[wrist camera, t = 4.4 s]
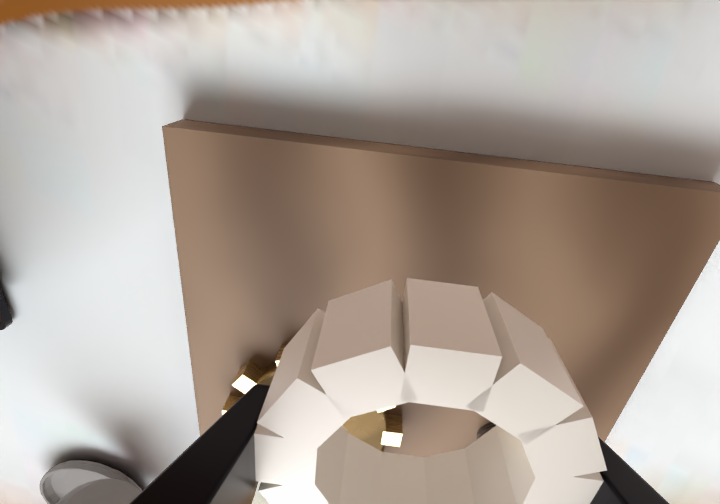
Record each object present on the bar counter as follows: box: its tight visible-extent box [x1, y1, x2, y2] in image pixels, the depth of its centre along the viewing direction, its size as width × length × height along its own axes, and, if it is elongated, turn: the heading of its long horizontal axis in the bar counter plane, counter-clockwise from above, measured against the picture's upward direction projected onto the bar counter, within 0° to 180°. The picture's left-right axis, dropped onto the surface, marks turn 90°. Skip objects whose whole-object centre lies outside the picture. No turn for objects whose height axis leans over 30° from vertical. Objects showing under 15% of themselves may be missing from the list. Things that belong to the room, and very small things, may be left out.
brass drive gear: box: [222, 345, 403, 452], centre depth 19 cm, size 8×8×2 cm
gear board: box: [162, 119, 720, 457], centre depth 18 cm, size 20×18×2 cm
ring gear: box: [254, 278, 607, 504], centre depth 8 cm, size 6×6×2 cm
